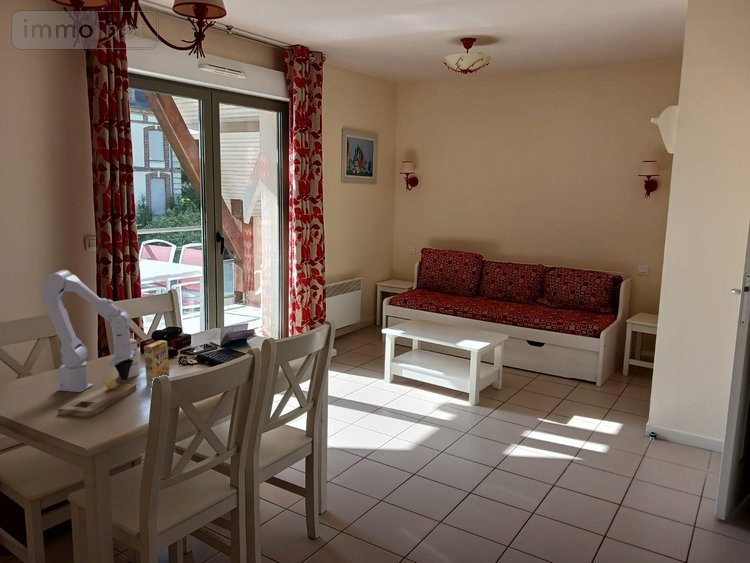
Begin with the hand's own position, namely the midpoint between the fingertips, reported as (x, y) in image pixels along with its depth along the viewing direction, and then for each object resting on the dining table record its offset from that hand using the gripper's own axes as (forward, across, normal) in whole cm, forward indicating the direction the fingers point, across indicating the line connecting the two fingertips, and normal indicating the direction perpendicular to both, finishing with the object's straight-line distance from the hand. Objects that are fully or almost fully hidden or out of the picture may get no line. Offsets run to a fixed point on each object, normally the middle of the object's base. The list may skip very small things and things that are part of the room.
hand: (124, 379), depth 220 cm
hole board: (+3, -15, 0) cm, 15 cm away
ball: (-1, -8, 0) cm, 8 cm away
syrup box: (+3, +12, +6) cm, 14 cm away
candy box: (+3, +8, -9) cm, 12 cm away
